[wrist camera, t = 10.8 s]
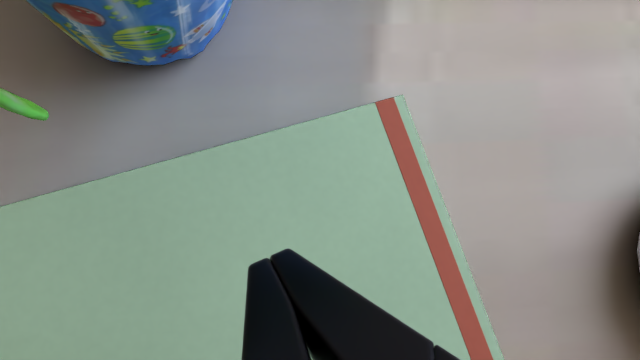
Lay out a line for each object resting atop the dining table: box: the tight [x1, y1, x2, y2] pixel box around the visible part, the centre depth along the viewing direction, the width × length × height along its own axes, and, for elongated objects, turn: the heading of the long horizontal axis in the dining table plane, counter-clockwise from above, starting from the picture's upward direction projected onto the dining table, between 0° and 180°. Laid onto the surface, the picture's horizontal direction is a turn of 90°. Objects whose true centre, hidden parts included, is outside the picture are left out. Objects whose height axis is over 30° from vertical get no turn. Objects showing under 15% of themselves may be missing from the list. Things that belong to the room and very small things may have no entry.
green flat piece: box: [0, 95, 504, 360], centre depth 17 cm, size 13×24×1 cm, turn 109°
